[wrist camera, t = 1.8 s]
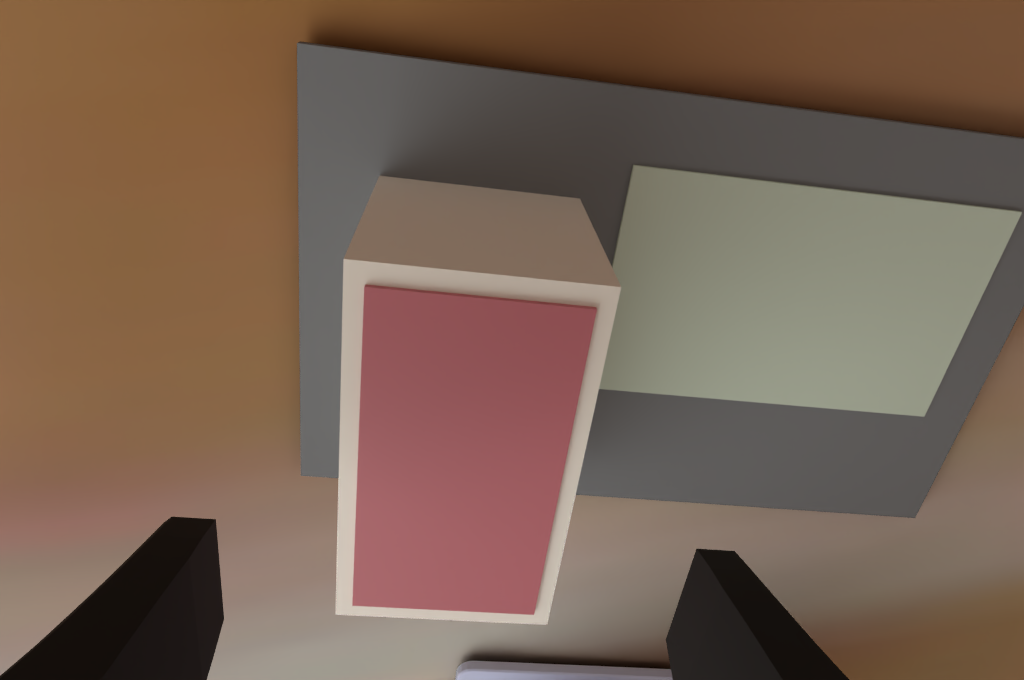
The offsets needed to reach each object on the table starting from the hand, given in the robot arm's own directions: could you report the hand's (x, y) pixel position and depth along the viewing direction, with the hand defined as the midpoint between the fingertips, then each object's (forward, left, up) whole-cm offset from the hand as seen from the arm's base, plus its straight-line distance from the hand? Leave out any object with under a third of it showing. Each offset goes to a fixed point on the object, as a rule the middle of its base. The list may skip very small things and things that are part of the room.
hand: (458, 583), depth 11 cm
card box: (0, 0, -8) cm, 8 cm away
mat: (+1, -5, -8) cm, 10 cm away
